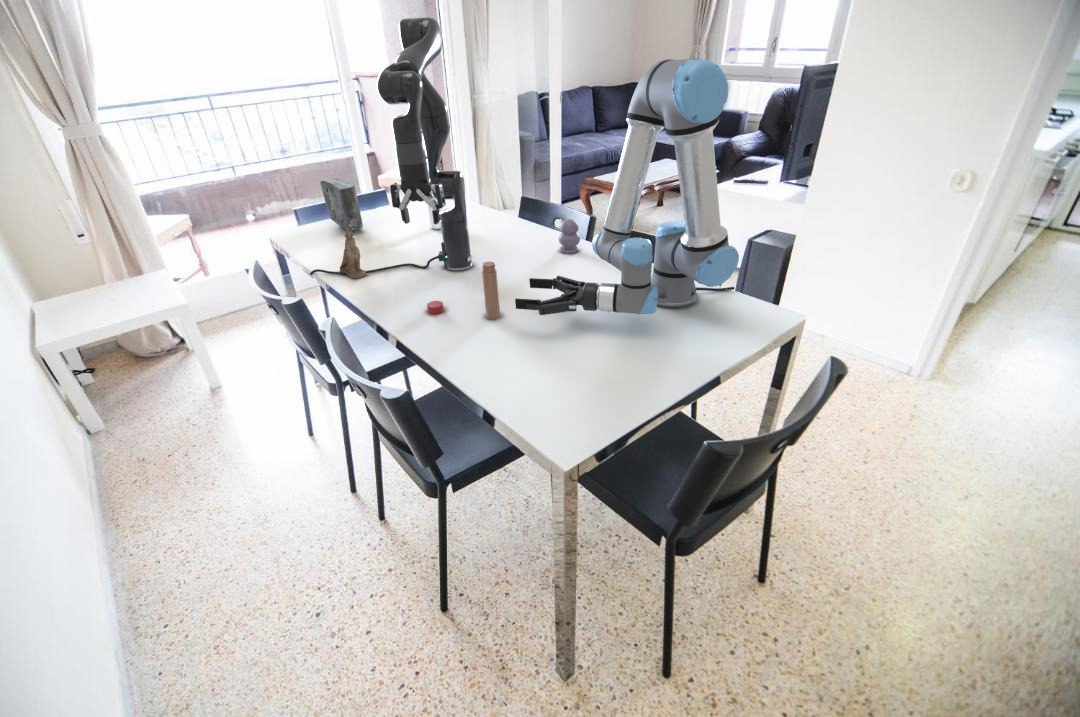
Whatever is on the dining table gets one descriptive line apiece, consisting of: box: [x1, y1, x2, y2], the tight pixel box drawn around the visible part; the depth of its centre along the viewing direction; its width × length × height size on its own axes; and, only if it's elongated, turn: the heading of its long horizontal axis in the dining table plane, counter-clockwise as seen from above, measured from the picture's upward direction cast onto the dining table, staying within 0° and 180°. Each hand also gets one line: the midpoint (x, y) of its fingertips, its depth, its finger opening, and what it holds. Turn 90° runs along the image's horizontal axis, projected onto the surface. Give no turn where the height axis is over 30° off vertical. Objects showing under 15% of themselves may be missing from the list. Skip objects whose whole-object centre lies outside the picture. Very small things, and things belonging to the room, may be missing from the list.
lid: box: [426, 300, 445, 315], centre depth 149 cm, size 5×5×2 cm
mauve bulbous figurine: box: [558, 218, 581, 254], centre depth 188 cm, size 8×8×12 cm
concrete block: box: [319, 177, 364, 232], centre depth 222 cm, size 27×9×20 cm, turn 36°
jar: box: [481, 261, 501, 320], centre depth 141 cm, size 4×4×16 cm
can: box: [426, 199, 445, 230], centre depth 220 cm, size 7×7×12 cm
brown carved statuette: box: [339, 230, 367, 280], centre depth 174 cm, size 12×6×18 cm, turn 43°
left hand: (422, 223), depth 136 cm, fingers open, 8 cm apart
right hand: (523, 292), depth 138 cm, fingers open, 13 cm apart
